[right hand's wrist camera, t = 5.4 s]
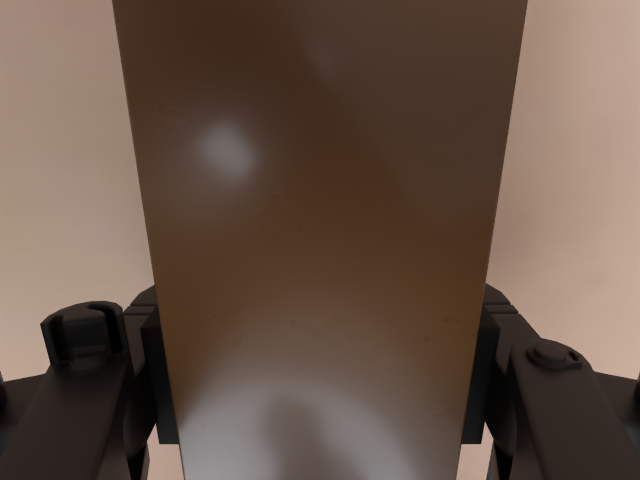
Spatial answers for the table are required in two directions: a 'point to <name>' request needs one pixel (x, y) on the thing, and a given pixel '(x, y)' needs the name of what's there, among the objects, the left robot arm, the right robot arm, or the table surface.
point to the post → (319, 223)
